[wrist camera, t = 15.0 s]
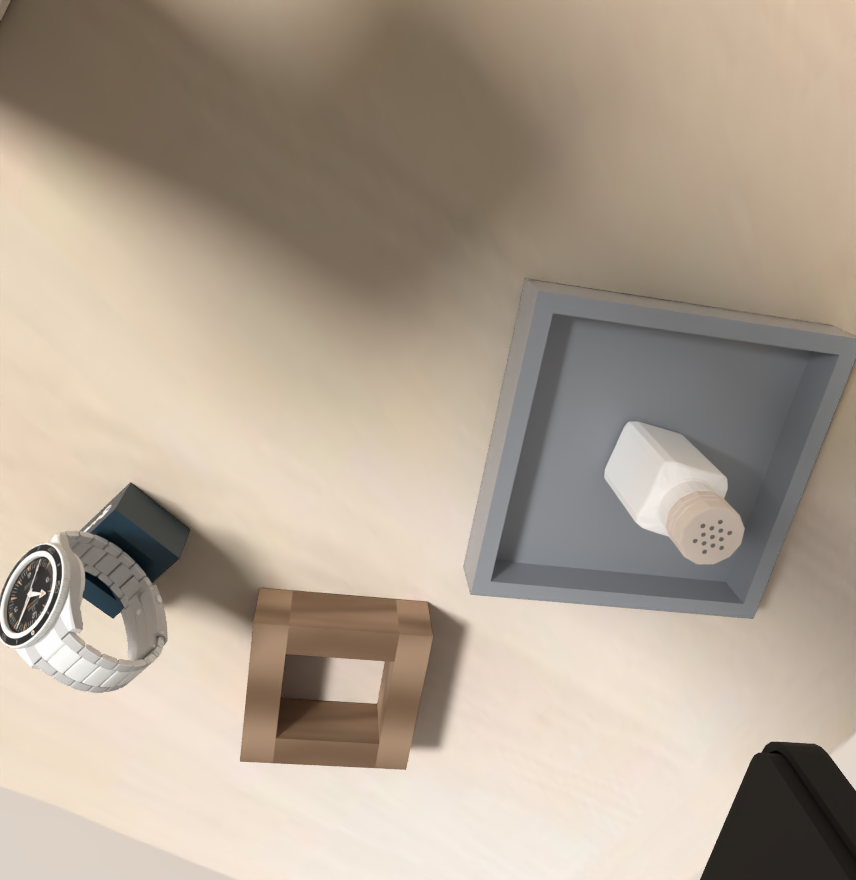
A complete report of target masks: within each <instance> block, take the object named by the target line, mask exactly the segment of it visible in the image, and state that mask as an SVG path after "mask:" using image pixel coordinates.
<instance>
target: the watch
mask: <svg viewBox="0 0 856 880" xmlns="http://www.w3.org/2000/svg"><path fill="white" fill-rule="evenodd" d="M189 531H190V529H189V528H187V527H186V526H185V525H184V524H182V523H181V522H180V521H179V520H177V519H176V518H175V517H174V516H172V515H171V514H170V513H168V512H167V511H166V510H165V509H163V508H162V507H161V506H160V505H158V504H157V503H156V502H155V501H153V500H152V499H151V498H149V497H148V496H147V495H146V494H144V493H143V492H142V491H141V490H139V489H138V488H137V487H136V486H134V485H133V484H132V483H129V484H128V485H127V486H126V487H125V488H124V489H123V490H122V491H121V492H120V493H119V494H118V495H117V496H116V497H115V498H114V499H113V500H112V501H111V502H110V503H109V504H107V505H106V506H105V507H104V508H103V509H102V510H101V511H100V512H99V513H98V514H97V515H96V516H95V517H94V518H93V519H92V520H91V521H90V522H89V523H88V524H87V525H86V526H85V527H83V528H82V529H81V530H80V531H79V532H78V531H67V532H65V533H64V532H63V533H59V534H56V535H54V536H53V537H52V538H51V539H50V540H49V541H48V542H47V543H41V544H38V545H36V546H34V547H33V548H31V549H30V550H29V551H27V552H26V553H25V554H24V555H23V556H22V557H21V558H20V559H19V561H18V562H17V563H16V565H15V566H14V567H13V569H12V571H11V572H10V574H9V576H8V578H7V580H6V582H5V584H4V587H3V589H2V592H1V595H0V639H1V641H2V642H3V643H4V645H6V646H7V647H10V648H15V649H16V651H17V652H18V653H19V654H20V656H21V657H22V658H23V659H24V660H25V661H26V662H27V663H28V664H29V665H30V666H31V667H32V668H35V669H41V670H42V671H43V672H45V673H46V674H48V675H49V676H52V675H53V674H54V675H53V676H52V678H53V679H55V680H57V681H58V682H60V683H62V684H64V685H67V686H70V687H71V688H74V689H77V690H81V691H88V692H93V693H102V692H109V691H114V690H117V689H119V688H122V687H124V686H125V685H127V684H128V683H129V682H130V681H131V680H133V679H134V678H135V677H136V676H137V675H138V674H140V673H141V672H142V671H143V670H144V669H145V668H146V667H148V666H149V665H150V664H151V663H152V662H153V661H154V660H155V659H156V658H157V657H158V656H159V655H160V653H161V651H162V648H163V646H164V645H165V643H166V642H167V623H166V616H165V611H164V607H163V603H162V598H161V596H160V593H159V591H158V588H157V585H156V584H155V585H152V583H153V582H154V581H155V580H156V579H157V578H158V577H159V576H160V575H162V574H163V573H164V572H165V571H166V570H167V569H168V568H169V567H170V566H171V565H173V564H174V563H175V562H176V561H177V560H178V559H179V558H180V555H181V553H182V550H183V547H184V545H185V542H186V539H187V537H188V534H189ZM82 598H84V599H86V600H87V601H89V602H90V603H92V604H93V605H94V606H96V607H97V608H99V609H100V610H101V611H103V612H104V613H106V614H107V615H109V616H110V617H111V618H114V617H115V616H117V615H118V614H119V613H120V612H121V614H122V617H123V620H124V624H125V628H126V633H127V641H128V658H129V659H130V660H131V661H130V660H123V659H119V660H118V661H117V659H116V658H114V657H111V656H108V655H106V654H102V655H101V653H100V652H99V651H98V650H96V649H95V648H93V647H92V646H90V645H88V644H87V645H86V646H85V642H84V641H83V640H82V639H81V638H80V637H79V636H78V635H77V634H76V633H80V632H81V631H82V629H83V622H82V617H81V611H80V605H81V602H82ZM74 632H75V633H74Z"/></svg>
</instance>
